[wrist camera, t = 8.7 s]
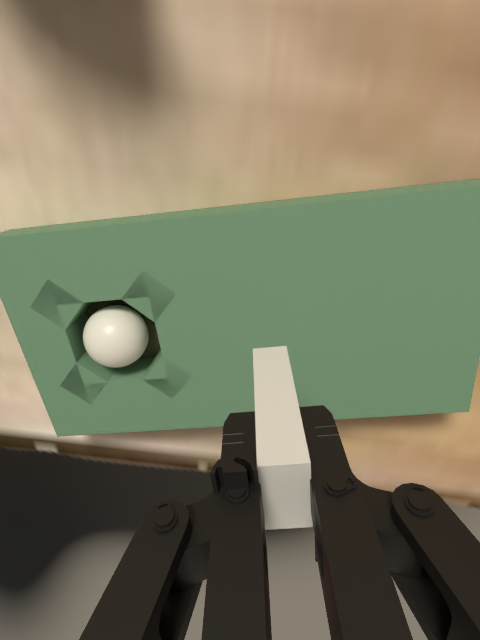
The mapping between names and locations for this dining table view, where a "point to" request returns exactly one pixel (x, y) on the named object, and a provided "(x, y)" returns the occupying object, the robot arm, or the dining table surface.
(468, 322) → the putting mat
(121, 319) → the ball
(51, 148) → the dining table surface
